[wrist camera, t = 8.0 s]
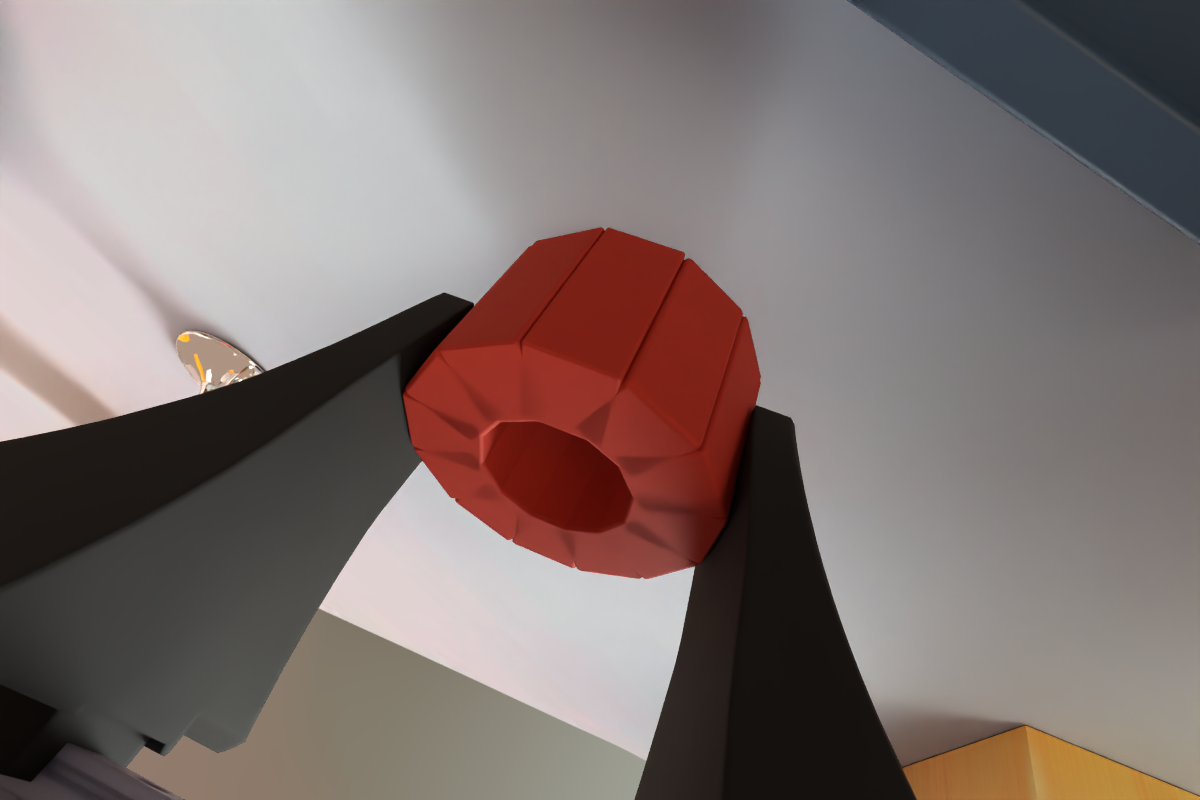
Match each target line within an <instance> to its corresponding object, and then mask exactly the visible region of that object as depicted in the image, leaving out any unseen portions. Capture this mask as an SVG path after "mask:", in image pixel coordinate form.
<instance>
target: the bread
mask: <svg viewBox="0 0 1200 800" xmlns="http://www.w3.org/2000/svg"><path fill="white" fill-rule="evenodd" d="M902 769H903V771H904V773H905V775H906V777H907V779H908V782H909V784H910V786H911V788H912V790H913V792H914V794H915V796H916V799H917V800H1200V797H1199V796H1197V795H1194V794H1192V793H1189V792H1187V791H1184V790H1182V789H1180V788H1177V787H1175V786H1172V785H1170V784H1167V783H1165V782H1162V781H1160V780H1158V779H1155V778H1153V777H1150V776H1148V775H1145V774H1143V773H1141V772H1138V771H1136V770H1133V769H1131V768H1128V767H1126V766H1123V765H1121V764H1119V763H1116V762H1114V761H1111V760H1109V759H1106V758H1104V757H1101V756H1099V755H1097V754H1094V753H1092V752H1089V751H1087V750H1084V749H1082V748H1079V747H1077V746H1075V745H1072V744H1070V743H1067V742H1065V741H1062V740H1060V739H1058V738H1055V737H1053V736H1050V735H1048V734H1045V733H1043V732H1040V731H1038V730H1036V729H1033V728H1031V727H1028V726H1026V725H1025V726H1022V727H1019V728H1017V729H1014V730H1011V731H1008V732H1005V733H1002V734H999V735H996V736H993V737H991V738H988V739H985V740H982V741H979V742H976V743H973V744H970V745H967V746H965V747H962V748H959V749H956V750H953V751H950V752H947V753H944V754H941V755H939V756H936V757H933V758H930V759H927V760H924V761H921V762H918V763H915V764H912V765H910V766H907V767H904V768H902Z"/></svg>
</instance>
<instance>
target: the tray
mask: <svg viewBox="0 0 1200 800" xmlns="http://www.w3.org/2000/svg"><path fill="white" fill-rule="evenodd" d="M847 1H849V2H850V3H852V4H853V5H855V6H856V7H858V8H859V9H860V10H862V11H863V12H865V13H866V14H868V15H869V16H871V17H872V18H873V19H875V20H876V21H878V22H879V23H881V24H882V25H883V26H885V27H886V28H888V29H889V30H891V31H892V32H894V33H895V34H896V35H898V36H899V37H901V38H902V39H904V40H905V41H906V42H908V43H909V44H911V45H912V46H914V47H915V48H917V49H918V50H919V51H921V52H922V53H924V54H925V55H927V56H928V57H930V58H931V59H932V60H934V61H935V62H937V63H938V64H940V65H941V66H942V67H944V68H945V69H947V70H948V71H950V72H951V73H953V74H954V75H955V76H957V77H958V78H960V79H961V80H963V81H964V82H966V83H967V84H968V85H970V86H971V87H973V88H974V89H976V90H977V91H978V92H980V93H981V94H983V95H984V96H986V97H987V98H989V99H990V100H991V101H993V102H994V103H996V104H997V105H999V106H1000V107H1002V108H1003V109H1004V110H1006V111H1007V112H1009V113H1010V114H1012V115H1013V116H1014V117H1016V118H1017V119H1019V120H1020V121H1022V122H1023V123H1025V124H1026V125H1027V126H1029V127H1030V128H1032V129H1033V130H1035V131H1036V132H1038V133H1039V134H1040V135H1042V136H1043V137H1045V138H1046V139H1048V140H1049V141H1050V142H1052V143H1053V144H1055V145H1056V146H1058V147H1059V148H1061V149H1062V150H1063V151H1065V152H1066V153H1068V154H1069V155H1071V156H1072V157H1074V158H1075V159H1076V160H1078V161H1079V162H1081V163H1082V164H1084V165H1085V166H1086V167H1088V168H1089V169H1091V170H1092V171H1094V172H1095V173H1097V174H1098V175H1099V176H1101V177H1102V178H1104V179H1105V180H1107V181H1108V182H1110V183H1111V184H1112V185H1114V186H1115V187H1117V188H1118V189H1120V190H1121V191H1122V192H1124V193H1125V194H1127V195H1128V196H1130V197H1131V198H1133V199H1134V200H1135V201H1137V202H1138V203H1140V204H1141V205H1143V206H1144V207H1146V208H1147V209H1148V210H1150V211H1151V212H1153V213H1154V214H1156V215H1157V216H1158V217H1160V218H1161V219H1163V220H1164V221H1166V222H1167V223H1169V224H1170V225H1171V226H1173V227H1174V228H1176V229H1177V230H1179V231H1180V232H1182V233H1183V234H1184V235H1186V236H1187V237H1189V238H1190V239H1192V240H1193V241H1194V242H1196V243H1197V244H1199V245H1200V0H847Z"/></svg>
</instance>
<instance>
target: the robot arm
mask: <svg viewBox="0 0 1200 800" xmlns="http://www.w3.org/2000/svg"><path fill="white" fill-rule="evenodd" d="M473 307H474V303H472V302H469V301H466V300H464V299H461V298H458V297H455V296H453V295H450V294H447V293H442V294H440V295H437V296H435V297H433V298H430V299H428V300H426V301H424V302H422V303H420V304H418V305H416V306H413V307H411V308H409V309H407V310H405V311H403V312H401V313H399V314H397V315H395V316H393V317H390V318H388V319H386V320H384V321H382V322H380V323H378V324H376V325H374V326H371V327H369V328H367V329H365V330H363V331H361V332H358V333H356V334H354V335H352V336H350V337H348V338H345V339H343V340H341V341H339V342H337V343H334V344H332V345H330V346H327V347H325V348H323V349H320V350H318V351H315V352H313V353H310V354H308V355H306V356H303V357H301V358H298V359H296V360H294V361H291V362H289V363H286V364H284V365H281V366H279V367H277V368H274V369H271V370H269V371H266V372H264V373H261V374H258V375H255V376H253V377H250V378H247V379H244V380H241V381H238V382H235V383H232V384H229V385H226V386H223V387H220V388H217V389H214V390H211V391H208V392H205V393H202V394H199V395H195V396H192V397H189V398H185V399H182V400H178V401H174V402H170V403H167V404H163V405H159V406H156V407H152V408H148V409H145V410H141V411H137V412H134V413H130V414H126V415H123V416H119V417H115V418H111V419H107V420H102V421H98V422H94V423H89V424H85V425H80V426H76V427H72V428H67V429H62V430H58V431H53V432H48V433H43V434H38V435H33V436H28V437H23V438H18V439H13V440H7V441H2V442H0V800H184V799H182V798H181V797H179V796H177V795H175V794H173V793H171V792H170V791H168V790H166V789H164V788H162V787H160V786H159V785H157V784H155V783H153V782H151V781H149V780H148V779H146V778H144V777H142V776H140V775H138V774H137V773H135V772H133V771H131V770H129V769H128V768H126V767H127V765H128V764H129V763H130V762H131V761H132V760H133V758H134V757H135V756H136V755H137V754H138V752H139V751H140V750H141V749H142V748H143V746H145V747H148V748H149V749H151V750H153V751H155V752H157V753H158V754H160V755H163V756H165V755H166V754H168V753H169V752H170V751H171V750H172V749H173V747H174V746H175V745H176V744H177V742H178V741H179V740H180V739H181V737H182V736H183V735H184V736H187V737H189V738H190V739H192V740H194V741H196V742H198V743H200V744H202V745H204V746H205V747H207V748H209V749H211V750H213V751H215V752H217V753H219V752H223V751H226V750H229V749H231V748H234V747H236V746H238V745H240V744H242V743H243V742H245V741H246V739H247V737H248V735H249V733H250V731H251V729H252V727H253V725H254V723H255V721H256V719H257V717H258V715H259V713H260V712H261V710H262V708H263V706H264V704H265V702H266V700H267V698H268V697H269V695H270V693H271V691H272V689H273V687H274V685H275V683H276V682H277V680H278V678H279V676H280V674H281V672H282V670H283V668H284V667H285V665H286V663H287V661H288V660H289V658H290V656H291V654H292V653H293V651H294V649H295V647H296V646H297V644H298V642H299V640H300V639H301V637H302V635H303V633H304V632H305V630H306V628H307V626H308V625H309V623H310V621H311V619H312V618H313V616H314V614H315V613H316V611H317V609H318V608H319V606H320V605H321V603H322V601H323V600H324V598H325V596H326V595H327V593H328V592H329V590H330V588H331V587H332V585H333V583H334V582H335V580H336V578H337V577H338V575H339V573H340V572H341V570H342V569H343V567H344V566H345V564H346V563H347V561H348V560H349V558H350V556H351V555H352V553H353V552H354V550H355V549H356V547H357V546H358V544H359V542H360V541H361V539H362V538H363V536H364V535H365V533H366V532H367V530H368V529H369V527H370V526H371V525H372V523H373V522H374V521H375V519H376V518H377V516H378V515H379V514H380V512H381V511H382V510H383V508H384V507H385V506H386V505H387V503H388V502H389V501H390V500H391V498H392V497H393V496H394V495H395V493H396V492H397V491H398V490H399V488H400V487H401V486H402V485H403V483H404V482H405V481H406V480H407V478H408V477H409V476H410V475H411V473H412V472H413V471H414V470H415V469H416V467H417V466H418V465H419V464H420V462H421V461H422V459H421V458H420V457H419V455H418V454H417V453H416V451H415V450H414V446H413V445H412V444H411V439H410V433H409V428H408V422H407V417H406V411H405V406H404V400H403V393H404V391H405V388H406V385H407V384H408V382H409V381H410V380H411V379H412V377H413V376H414V375H415V374H416V372H417V371H418V370H419V369H420V367H421V366H422V365H423V364H424V362H425V361H426V360H427V359H428V357H429V356H430V355H431V354H432V352H433V351H434V350H435V349H436V348H437V346H438V345H439V344H440V343H441V342H442V341H443V340H444V339H445V338H446V337H447V336H448V334H449V333H450V332H451V331H452V330H453V329H454V328H455V327H456V326H457V325H458V324H459V322H460V321H461V320H462V319H463V318H464V317H465V316H466V315H467V314H468V313H469V312H470V310H471V309H472V308H473ZM635 800H917V799H916V796H915V794H914V792H913V790H912V788H911V786H910V784H909V782H908V779H907V777H906V775H905V773H904V771H903V769H902V767H901V765H900V762H899V760H898V758H897V756H896V754H895V752H894V750H893V748H892V745H891V743H890V741H889V739H888V737H887V735H886V733H885V730H884V728H883V726H882V724H881V722H880V720H879V717H878V715H877V712H876V710H875V708H874V705H873V703H872V700H871V698H870V696H869V693H868V691H867V688H866V686H865V684H864V681H863V679H862V676H861V674H860V671H859V669H858V666H857V664H856V661H855V658H854V656H853V653H852V650H851V648H850V645H849V643H848V640H847V637H846V634H845V632H844V629H843V626H842V623H841V620H840V617H839V614H838V611H837V608H836V605H835V602H834V599H833V596H832V593H831V589H830V586H829V583H828V580H827V576H826V573H825V570H824V567H823V563H822V559H821V556H820V552H819V549H818V545H817V541H816V537H815V533H814V529H813V524H812V520H811V516H810V512H809V508H808V504H807V499H806V494H805V489H804V484H803V479H802V474H801V468H800V462H799V456H798V450H797V443H796V435H795V425H794V423H793V421H792V419H791V418H790V417H787V416H784V415H782V414H779V413H776V412H773V411H770V410H768V409H765V408H762V407H759V406H757V405H756V406H755V408H754V410H753V411H752V415H751V419H750V423H749V427H748V431H747V436H746V440H745V444H744V448H743V452H742V456H741V461H740V465H739V469H738V473H737V479H736V486H735V491H734V496H733V501H732V505H731V509H730V513H729V517H728V521H727V523H726V525H725V527H724V528H723V530H722V531H721V533H720V535H719V536H718V538H717V540H716V541H715V543H714V544H713V546H712V548H711V549H710V551H709V553H708V554H707V556H706V557H705V559H704V561H703V562H702V563H698V565H697V566H695V571H694V576H693V581H692V586H691V591H690V597H689V602H688V607H687V612H686V617H685V622H684V628H683V633H682V638H681V642H680V647H679V651H678V655H677V659H676V663H675V667H674V671H673V674H672V677H671V681H670V684H669V688H668V691H667V694H666V698H665V701H664V705H663V708H662V711H661V715H660V718H659V722H658V725H657V728H656V731H655V735H654V738H653V741H652V745H651V748H650V751H649V755H648V758H647V761H646V764H645V768H644V771H643V775H642V778H641V781H640V784H639V787H638V790H637V794H636V797H635Z"/></svg>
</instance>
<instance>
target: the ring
mask: <svg viewBox="0 0 1200 800" xmlns="http://www.w3.org/2000/svg"><path fill="white" fill-rule="evenodd" d="M684 257H685V253H684V252H681V251H678V250H675V249H672V248H669V247H666V246H663V245H660V244H657V243H654V242H651V241H648V240H645V239H642V238H639V237H636V236H633V235H630V234H627V233H624V232H621V231H617V230H614V229H611V228H607V229H606V230H605V231H604V229H603V228H596V229H591V230H586V231H582V232H577V233H572V234H567V235H563V236H558V237H553V238H548V239H544V240H539V241H536V242H535V243H534V245H533V246H530V247H528V248H527V249H526V251H525V252H524V253H523V254H522V255H521V256H520V257H519V258H518V259H517V260H516V261H515V262H514V264H513V265H512V266H511V267H510V268H509V269H508V270H507V271H506V272H505V273H504V274H503V276H502V277H501V278H500V279H499V280H498V281H497V282H496V283H495V284H494V285H493V286H492V288H491V289H490V290H489V291H488V292H487V293H486V294H485V295H484V296H483V297H482V298H481V300H480V301H479V302H478V303H477V304H476V305H475V306H474V307H473V308H472V309H471V310H470V312H469V313H468V314H467V315H466V316H465V317H464V318H463V319H462V320H461V321H460V322H459V324H458V325H457V326H456V327H455V328H454V329H453V330H452V331H451V332H450V333H449V334H448V336H447V337H446V338H445V339H444V340H443V341H442V342H441V343H440V344H439V345H438V346H437V348H436V349H435V350H434V351H433V352H432V354H431V355H430V356H429V357H428V359H427V360H426V361H425V362H424V364H423V365H422V366H421V367H420V369H419V370H418V371H417V372H416V374H415V375H414V376H413V377H412V379H411V380H410V381H409V382H408V384H407V385H406V388H405V391H404V393H403V400H404V406H405V411H406V417H407V422H408V428H409V433H410V439H411V444H412V445H413V446H414V450H415V451H416V453H417V454H418V455H419V457H420V458H421V459H422V461H423V462H424V463H425V465H426V466H427V467H428V469H429V470H430V471H431V473H432V474H433V475H434V476H435V478H436V479H437V480H438V482H439V483H440V484H441V486H442V487H443V488H444V490H445V491H446V492H447V494H448V495H449V496H450V497H451V498H456V499H455V501H456V502H457V503H458V504H459V505H461V506H462V507H463V508H465V509H466V510H467V511H469V512H470V513H472V514H473V515H474V516H476V517H477V518H478V519H480V520H481V521H482V522H484V523H485V524H486V525H488V526H489V527H490V528H492V529H493V530H494V531H496V532H497V533H499V534H500V535H501V536H503V537H504V538H505V539H507V540H511V539H513V542H514V543H515V544H517V545H519V546H522V547H524V548H526V549H529V550H531V551H533V552H536V553H538V554H540V555H543V556H545V557H547V558H550V559H552V560H554V561H557V562H559V563H562V564H564V565H566V566H569V567H571V568H575V567H577V568H578V569H579V570H581V571H586V572H593V573H601V574H608V575H615V576H622V577H629V578H636V579H640V578H641V577H643V578H645V579H649V578H653V577H657V576H661V575H664V574H668V573H672V572H675V571H679V570H683V569H686V568H690V567H694V566H697V565H698V563H702V562H703V561H704V559H705V557H706V556H707V554H708V553H709V551H710V549H711V548H712V546H713V544H714V543H715V541H716V540H717V538H718V536H719V535H720V533H721V531H722V530H723V528H724V527H725V525H726V523H727V521H728V517H729V513H730V509H731V505H732V501H733V496H734V491H735V486H736V479H737V473H738V469H739V465H740V461H741V456H742V452H743V448H744V444H745V440H746V436H747V431H748V427H749V423H750V419H751V415H752V411H753V410H754V408H755V405H756V400H757V396H758V392H759V388H760V384H761V383H760V378H761V375H760V371H759V366H758V362H757V358H756V353H755V349H754V344H753V340H752V336H751V331H750V327H749V323H748V319H747V318H746V317H744V316H742V315H743V312H742V310H741V309H740V308H739V307H738V306H737V305H736V304H735V303H734V302H733V301H732V300H731V299H730V298H729V297H728V296H727V295H726V294H725V293H724V291H723V290H722V289H721V288H720V287H719V286H718V285H717V284H716V283H715V282H714V281H713V280H712V279H711V278H710V277H709V276H708V275H707V274H706V273H705V272H704V271H703V270H702V269H701V268H700V267H699V266H698V265H697V264H696V263H695V262H694V261H693V260H691V259H690V258H688V259H686V260H684Z"/></svg>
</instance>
